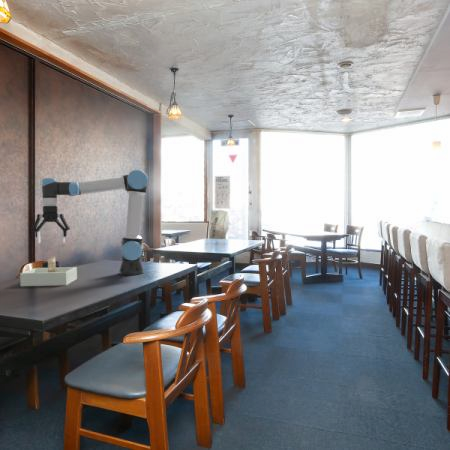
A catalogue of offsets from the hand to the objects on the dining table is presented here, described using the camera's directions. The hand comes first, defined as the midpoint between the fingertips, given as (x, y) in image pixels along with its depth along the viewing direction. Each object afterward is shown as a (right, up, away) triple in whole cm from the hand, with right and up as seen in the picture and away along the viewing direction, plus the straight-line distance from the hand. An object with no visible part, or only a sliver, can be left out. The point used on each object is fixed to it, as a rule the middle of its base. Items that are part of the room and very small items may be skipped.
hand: (51, 242), depth 212 cm
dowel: (0, -22, +1) cm, 22 cm away
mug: (-6, -22, +14) cm, 27 cm away
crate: (0, -22, -2) cm, 22 cm away
